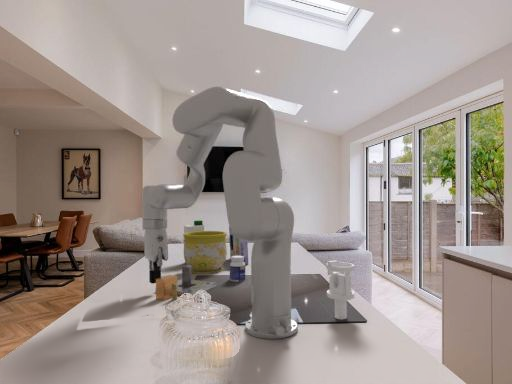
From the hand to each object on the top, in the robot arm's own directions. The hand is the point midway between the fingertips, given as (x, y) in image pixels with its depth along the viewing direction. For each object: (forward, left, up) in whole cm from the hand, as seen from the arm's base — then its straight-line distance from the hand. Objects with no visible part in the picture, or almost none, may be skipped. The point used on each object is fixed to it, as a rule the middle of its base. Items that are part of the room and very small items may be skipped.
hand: (155, 282), depth 114 cm
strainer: (-34, -46, -5) cm, 58 cm away
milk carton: (+53, -19, -5) cm, 56 cm away
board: (+2, -10, -5) cm, 11 cm away
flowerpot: (+32, -21, -5) cm, 38 cm away
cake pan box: (+51, -40, -5) cm, 65 cm away
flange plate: (0, -8, -3) cm, 9 cm away
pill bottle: (+9, -29, -5) cm, 31 cm away
